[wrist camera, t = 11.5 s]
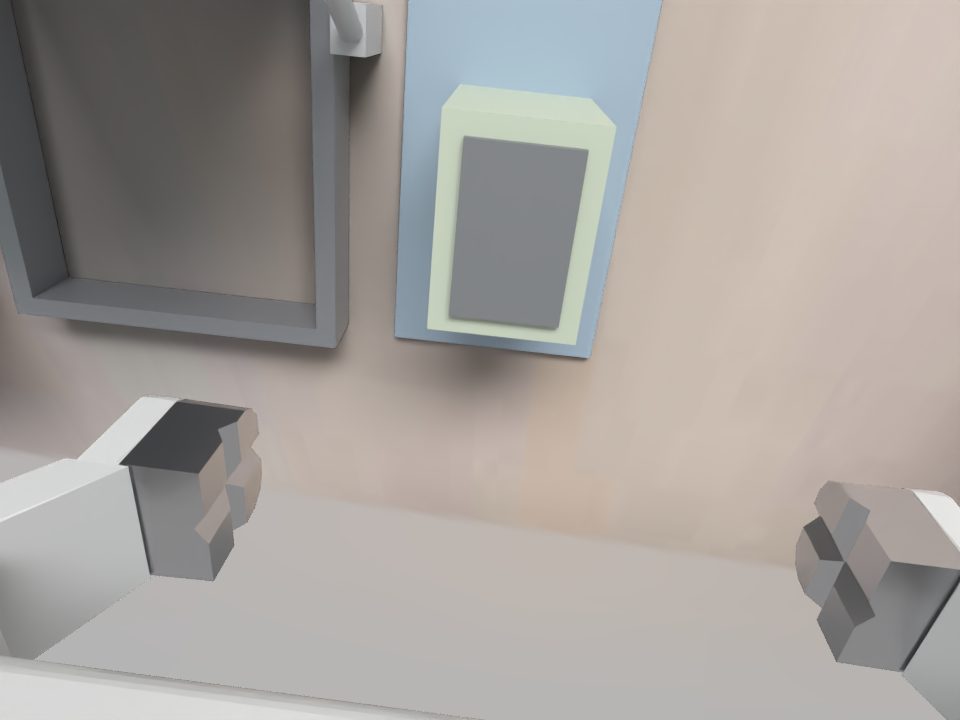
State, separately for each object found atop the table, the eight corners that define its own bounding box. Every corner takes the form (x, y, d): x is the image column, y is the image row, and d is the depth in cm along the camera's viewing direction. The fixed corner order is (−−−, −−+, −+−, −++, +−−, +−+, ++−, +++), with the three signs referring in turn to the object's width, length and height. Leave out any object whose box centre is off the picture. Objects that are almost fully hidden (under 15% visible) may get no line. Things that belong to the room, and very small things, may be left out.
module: (591, 98, 25) (618, 128, 18) (562, 272, 28) (576, 349, 22) (460, 84, 25) (440, 108, 18) (446, 259, 28) (425, 332, 22)
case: (386, -151, 22) (240, -339, 10) (374, 326, 30) (286, 522, 19) (-56, -202, 22) (-709, -448, 10) (54, 291, 30) (-236, 466, 18)
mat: (663, -18, 23) (665, -18, 23) (589, 354, 30) (589, 358, 30) (411, -46, 23) (410, -47, 23) (395, 332, 30) (394, 336, 30)
